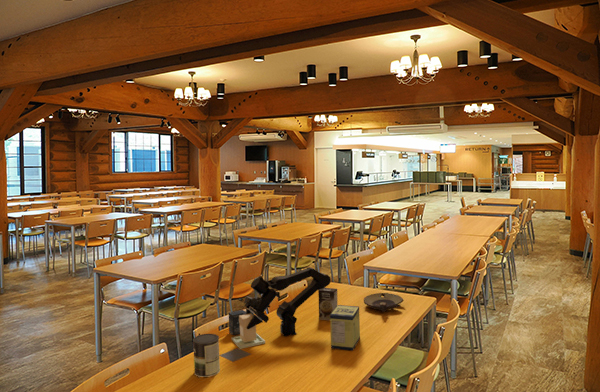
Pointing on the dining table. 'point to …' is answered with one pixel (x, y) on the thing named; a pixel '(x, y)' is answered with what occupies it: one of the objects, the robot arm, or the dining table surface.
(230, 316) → the box
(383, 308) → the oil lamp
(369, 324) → the dining table surface
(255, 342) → the tray
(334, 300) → the coffee box
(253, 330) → the carton
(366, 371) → the dining table surface
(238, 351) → the mat
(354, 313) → the protein box
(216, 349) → the coffee can
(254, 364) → the dining table surface
